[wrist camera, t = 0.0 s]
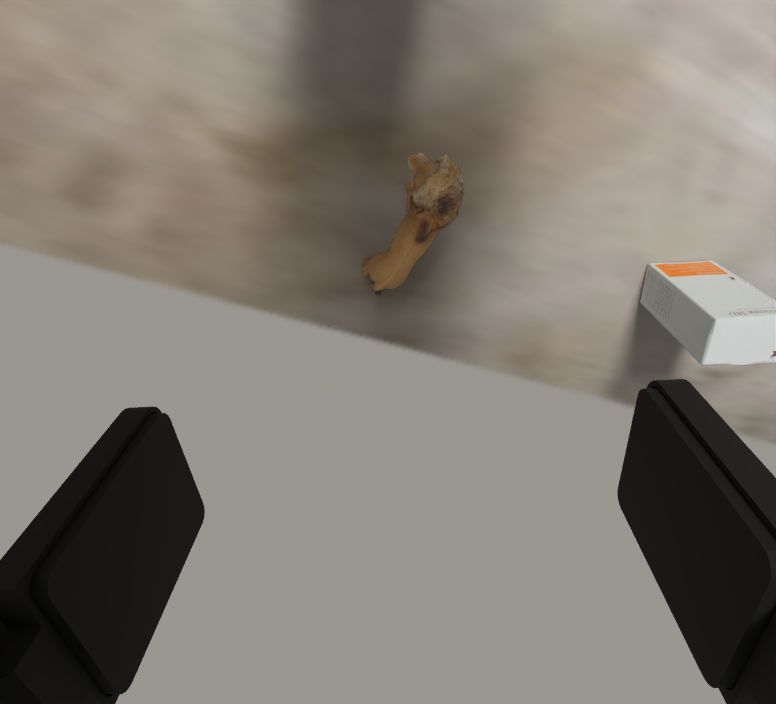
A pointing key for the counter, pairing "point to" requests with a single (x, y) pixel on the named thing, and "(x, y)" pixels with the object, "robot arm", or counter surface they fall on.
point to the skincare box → (712, 312)
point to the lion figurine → (418, 219)
